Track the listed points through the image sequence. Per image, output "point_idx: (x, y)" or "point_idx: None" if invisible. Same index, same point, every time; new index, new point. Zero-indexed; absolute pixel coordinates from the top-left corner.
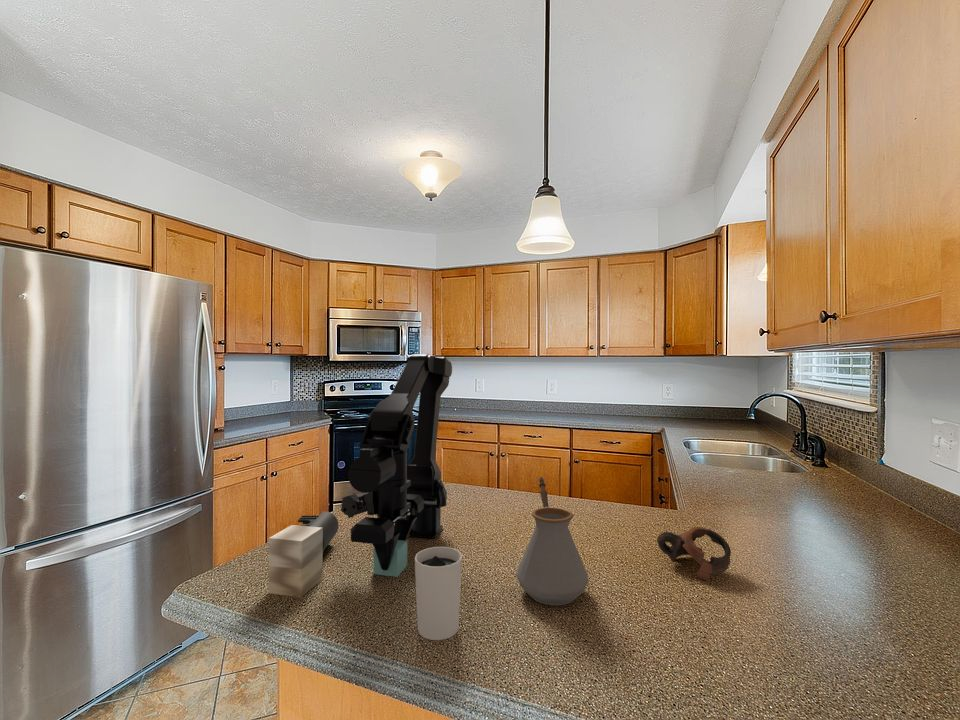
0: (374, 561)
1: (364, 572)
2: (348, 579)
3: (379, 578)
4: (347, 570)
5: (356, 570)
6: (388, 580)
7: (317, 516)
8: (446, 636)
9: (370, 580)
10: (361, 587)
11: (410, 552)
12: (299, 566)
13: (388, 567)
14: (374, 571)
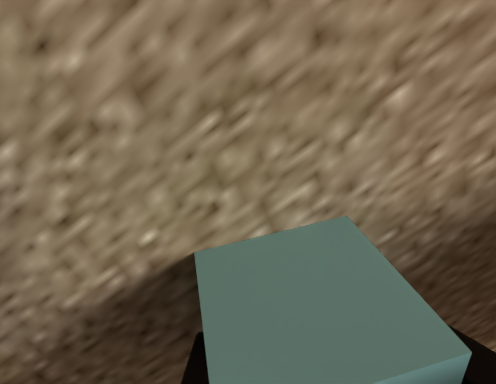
0: (202, 323)
1: (185, 193)
2: (31, 163)
3: (163, 308)
4: (148, 45)
5: (185, 120)
6: (168, 349)
7: None
8: None
9: (115, 287)
10: (11, 302)
11: (484, 251)
12: None
13: None
14: (196, 268)
